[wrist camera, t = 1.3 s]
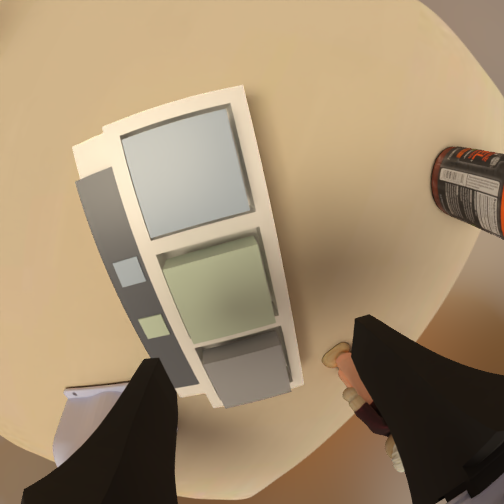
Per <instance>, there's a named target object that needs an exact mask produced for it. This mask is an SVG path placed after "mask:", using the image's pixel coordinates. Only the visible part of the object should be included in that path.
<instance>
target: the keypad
mask: <svg viewBox="0 0 504 504" xmlns="http://www.w3.org/2000/svg"><path fill="white" fill-rule="evenodd" d="M222 109H226V112H227V116H228V120H229V124H230V128H231V132H232V137H233V141H234V145H235V149H236V153H237V157H238V162H239V166H240V170H241V174H242V178H243V183H244V187H245V191H246V195H247V199H248V204H249V208H250V211H246V212H242V213H239V214H235V215H231V216H227V217H224V218H220V219H216V220H213V221H209V222H205V223H202V224H198V225H195V226H191V227H188V228H184V229H181V230H177V231H174V232H170V233H167V234H163V235H160V236H157V237H153V238H151V237H150V234H149V231H148V228H147V225H146V222H145V219H144V216H143V213H142V210H141V207H140V204H139V200H138V197H137V194H136V191H135V187H134V184H133V180H132V177H131V173H130V170H129V166H128V162H127V159H126V155H125V151H124V147H123V143H122V140H123V139H125V138H128V137H131V136H134V135H136V134H139V133H142V132H145V131H148V130H151V129H154V128H157V127H160V126H163V125H166V124H170V123H173V122H176V121H180V120H183V119H187V118H190V117H194V116H198V115H202V114H206V113H210V112H214V111H218V110H222ZM102 129H103V133H102V134H100V135H97V136H95V137H93V138H90V139H88V140H86V141H84V142H82V143H79V144H77V145H75V146H73V147H72V149H73V153H74V157H75V161H76V165H77V168H78V172H79V176H80V180H78V181H76V182H75V183H76V187H77V190H78V193H79V197H80V200H81V203H82V206H83V209H84V212H85V215H86V218H87V221H88V224H89V227H90V229H91V232H92V235H93V238H94V240H95V243H96V245H97V248H98V251H99V253H100V256H101V258H102V260H103V263H104V265H105V268H106V270H107V272H108V275H109V277H110V279H111V281H112V284H113V286H114V288H115V290H116V292H117V295H118V297H119V299H120V301H121V303H122V305H123V307H124V309H125V311H126V313H127V315H128V317H129V319H130V321H131V323H132V325H133V327H134V329H135V331H136V332H137V334H138V336H139V338H140V340H141V342H142V343H143V345H144V347H145V349H146V351H147V352H148V354H149V356H150V358H160V360H161V362H162V364H163V366H164V368H165V370H166V372H167V374H168V376H169V378H170V380H171V382H172V384H173V386H174V388H175V390H176V391H177V393H178V395H179V396H180V398H182V397H188V396H193V395H199V394H204V393H205V394H206V396H207V398H208V399H209V401H210V403H211V405H212V406H213V408H218V407H222V406H224V405H223V403H222V401H221V399H220V397H219V395H218V393H217V391H216V389H215V387H214V385H213V384H212V382H211V380H210V378H209V376H208V374H207V371H206V369H205V367H204V365H203V350H205V349H209V348H213V347H217V346H221V345H225V344H229V343H233V342H237V341H241V340H245V339H248V338H252V337H256V336H259V335H263V334H266V333H270V332H273V331H276V333H277V336H278V338H279V341H280V343H281V347H282V352H283V356H284V361H285V365H286V369H287V374H288V378H289V383H290V388H291V389H292V388H295V387H299V386H302V385H304V380H303V374H302V367H301V362H300V356H299V350H298V344H297V338H296V333H295V327H294V321H293V316H292V310H291V305H290V300H289V294H288V289H287V284H286V278H285V273H284V268H283V263H282V258H281V253H280V248H279V243H278V238H277V233H276V228H275V223H274V219H273V214H272V209H271V204H270V200H269V195H268V190H267V186H266V181H265V177H264V172H263V168H262V163H261V159H260V154H259V150H258V146H257V141H256V137H255V133H254V128H253V124H252V120H251V116H250V112H249V107H248V103H247V99H246V95H245V91H244V87H243V85H240V86H234V87H229V88H225V89H220V90H215V91H211V92H207V93H203V94H199V95H195V96H191V97H187V98H184V99H180V100H177V101H173V102H170V103H167V104H163V105H160V106H157V107H154V108H151V109H148V110H145V111H142V112H139V113H136V114H134V115H131V116H128V117H126V118H123V119H120V120H118V121H115V122H113V123H110V124H108V125H105V126H103V127H102ZM249 236H254V238H255V240H256V241H257V243H258V246H259V251H260V255H261V259H262V264H263V268H264V272H265V277H266V281H267V285H268V290H269V294H270V299H271V303H272V307H273V312H274V316H275V321H276V323H274V324H270V325H267V326H263V327H260V328H256V329H252V330H249V331H245V332H241V333H237V334H234V335H230V336H226V337H222V338H218V339H214V340H210V341H206V342H201V343H197V344H193V342H192V340H191V337H190V335H189V333H188V331H187V329H186V326H185V324H184V322H183V319H182V317H181V315H180V312H179V310H178V308H177V305H176V303H175V300H174V298H173V295H172V293H171V291H170V288H169V285H168V283H167V280H166V278H165V275H164V273H163V267H164V264H165V261H166V259H169V258H173V257H176V256H180V255H183V254H187V253H191V252H194V251H198V250H201V249H205V248H209V247H212V246H216V245H220V244H223V243H227V242H231V241H234V240H238V239H242V238H245V237H249Z"/></svg>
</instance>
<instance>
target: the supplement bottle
mask: <svg viewBox="0 0 504 504" xmlns="http://www.w3.org/2000/svg"><path fill="white" fill-rule="evenodd" d="M432 191H433V196H434V199H435V202H436V204H437V205H438V207H439V208H440V209H441V210H442V211H443V212H444V213H446V214H448V215H450V216H452V217H454V218H457V219H459V220H461V221H464V222H466V223H468V224H471V225H473V226H475V227H477V228H479V229H482V230H484V231H486V232H488V233H490V234H493V235H495V236H497V237H499V238H501V239H503V240H504V154H500V153H495V152H489V151H484V150H478V149H471V148H464V147H449V148H447V149H445V150H444V151H443V152H442V153H441V154H440V155H439V156H438V158H437V160H436V162H435V165H434V169H433V173H432Z"/></svg>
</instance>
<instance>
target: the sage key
mask: <svg viewBox="0 0 504 504" xmlns="http://www.w3.org/2000/svg"><path fill="white" fill-rule="evenodd" d="M163 273H164V275H165V278H166V280H167V283H168V285H169V288H170V291H171V293H172V295H173V298H174V300H175V303H176V305H177V308H178V310H179V312H180V315H181V317H182V319H183V322H184V324H185V326H186V329H187V331H188V333H189V335H190V337H191V340H192V342H193V344H197V343H201V342H206V341H210V340H214V339H218V338H222V337H226V336H230V335H234V334H237V333H241V332H245V331H249V330H252V329H256V328H260V327H263V326H267V325H270V324H274V323H276V321H275V316H274V312H273V307H272V303H271V299H270V294H269V290H268V285H267V281H266V277H265V272H264V268H263V264H262V259H261V255H260V251H259V246H258V243H257V241H256V240H255V238H254V236H249V237H245V238H242V239H238V240H234V241H231V242H227V243H223V244H220V245H216V246H212V247H209V248H205V249H201V250H198V251H194V252H191V253H187V254H183V255H180V256H176V257H173V258H169V259H166V261H165V264H164V267H163Z"/></svg>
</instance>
